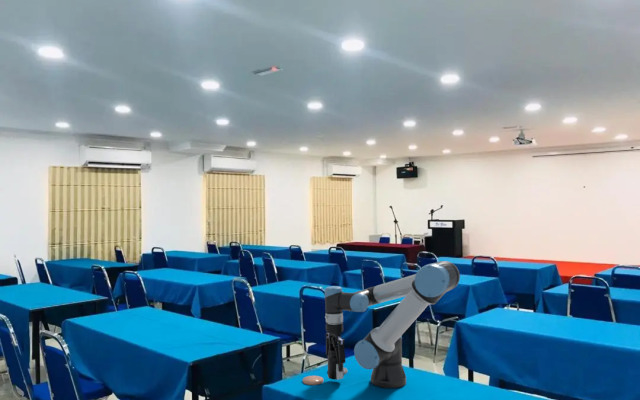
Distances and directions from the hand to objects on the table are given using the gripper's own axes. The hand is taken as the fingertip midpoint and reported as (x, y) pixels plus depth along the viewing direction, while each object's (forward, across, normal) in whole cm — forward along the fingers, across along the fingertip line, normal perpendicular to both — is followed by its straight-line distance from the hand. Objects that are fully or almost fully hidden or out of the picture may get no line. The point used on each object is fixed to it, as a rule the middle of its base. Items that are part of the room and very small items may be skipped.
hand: (335, 375), depth 211 cm
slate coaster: (+3, -12, +7) cm, 14 cm away
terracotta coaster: (+3, -6, -8) cm, 10 cm away
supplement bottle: (+1, 0, 0) cm, 1 cm away
